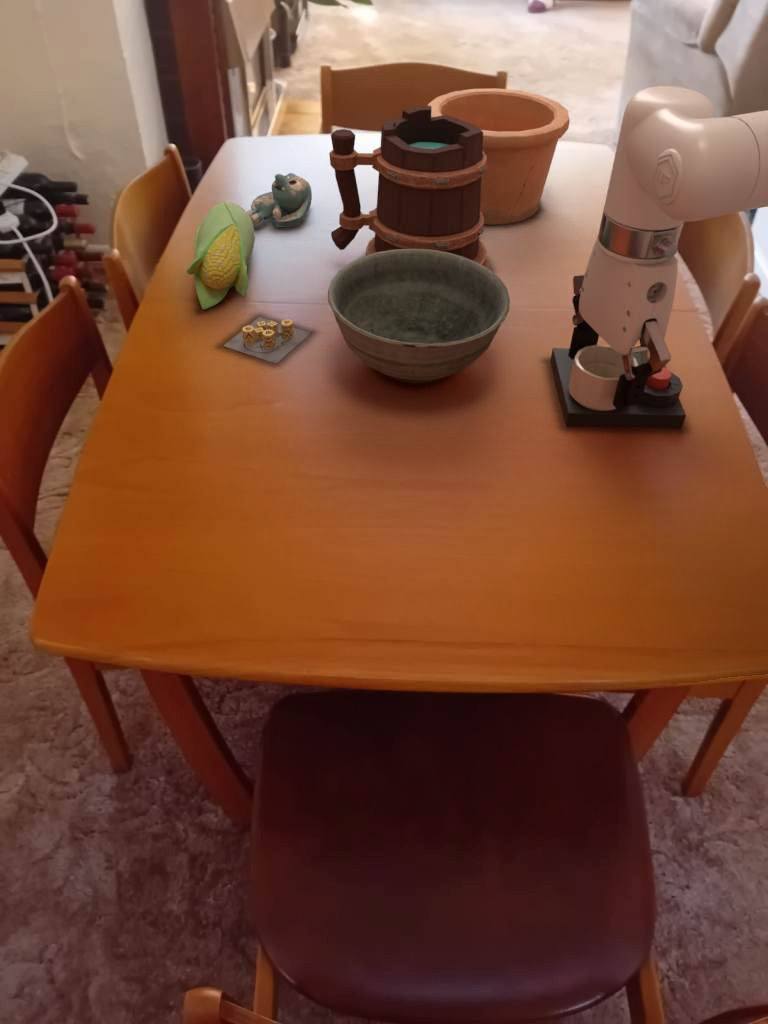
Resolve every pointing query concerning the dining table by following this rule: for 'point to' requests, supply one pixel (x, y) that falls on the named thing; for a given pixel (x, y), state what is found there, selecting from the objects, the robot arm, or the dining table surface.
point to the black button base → (649, 413)
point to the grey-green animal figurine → (283, 201)
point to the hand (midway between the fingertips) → (602, 379)
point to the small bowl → (596, 376)
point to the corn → (222, 253)
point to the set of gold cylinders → (267, 339)
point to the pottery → (509, 145)
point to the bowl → (418, 311)
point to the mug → (416, 186)
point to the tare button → (659, 380)
